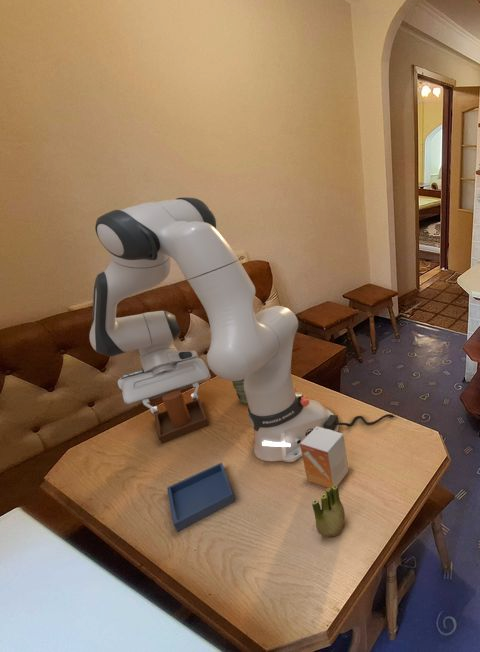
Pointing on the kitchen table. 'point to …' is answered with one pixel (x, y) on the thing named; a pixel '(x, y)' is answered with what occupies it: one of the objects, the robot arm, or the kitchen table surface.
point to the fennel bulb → (329, 513)
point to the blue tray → (199, 496)
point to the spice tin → (176, 408)
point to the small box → (324, 457)
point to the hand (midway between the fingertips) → (176, 406)
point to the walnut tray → (170, 432)
